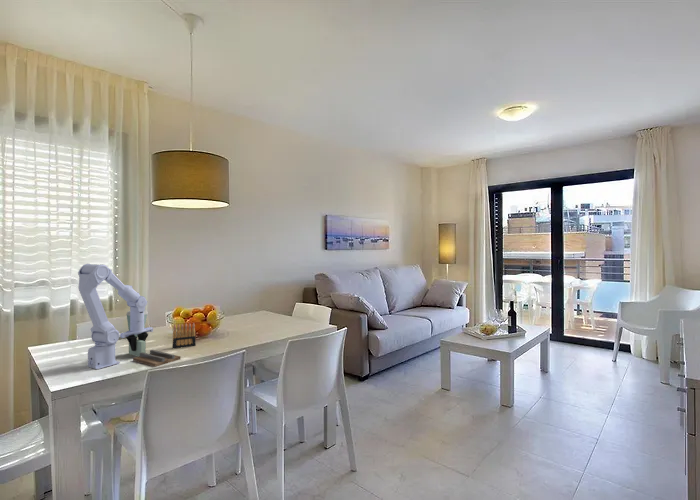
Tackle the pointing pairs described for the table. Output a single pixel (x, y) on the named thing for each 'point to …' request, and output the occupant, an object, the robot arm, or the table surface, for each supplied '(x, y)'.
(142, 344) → the grey-green rectangular block
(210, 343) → the table surface
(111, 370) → the table surface
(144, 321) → the disposable coffee cup
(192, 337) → the ammunition clip
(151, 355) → the track base
